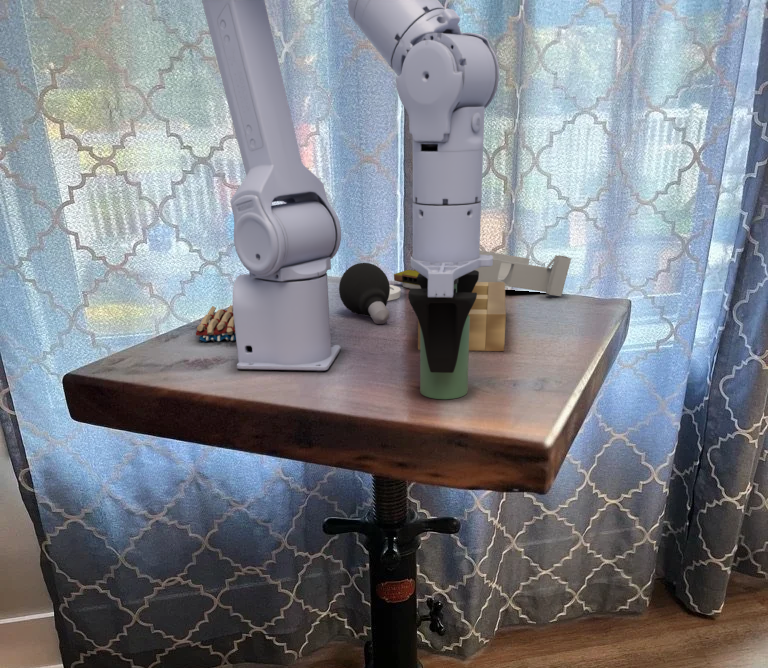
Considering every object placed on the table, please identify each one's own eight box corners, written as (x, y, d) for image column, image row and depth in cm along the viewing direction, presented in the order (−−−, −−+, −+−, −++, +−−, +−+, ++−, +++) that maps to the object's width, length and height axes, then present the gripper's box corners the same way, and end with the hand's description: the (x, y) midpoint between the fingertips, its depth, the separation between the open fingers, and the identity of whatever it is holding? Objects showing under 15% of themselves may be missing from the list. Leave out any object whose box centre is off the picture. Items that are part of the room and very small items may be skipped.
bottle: (418, 398, 71) (418, 280, 66) (422, 383, 75) (422, 271, 70) (466, 400, 70) (470, 281, 66) (468, 384, 74) (471, 271, 70)
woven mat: (191, 326, 88) (194, 344, 89) (285, 323, 88) (287, 340, 89) (206, 305, 97) (209, 321, 98) (292, 302, 98) (293, 318, 99)
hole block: (417, 349, 85) (417, 313, 83) (429, 313, 100) (429, 281, 98) (504, 351, 84) (505, 314, 82) (503, 314, 99) (504, 282, 97)
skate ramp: (521, 279, 118) (530, 244, 116) (561, 296, 106) (571, 258, 104) (429, 265, 113) (436, 228, 111) (460, 281, 102) (468, 241, 100)
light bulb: (368, 294, 91) (340, 249, 97) (352, 340, 95) (326, 295, 101) (415, 299, 94) (385, 256, 100) (398, 343, 98) (370, 299, 104)
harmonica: (408, 267, 116) (409, 281, 117) (393, 272, 115) (394, 286, 116) (480, 279, 106) (480, 294, 107) (464, 285, 105) (465, 299, 106)
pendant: (411, 290, 108) (411, 296, 109) (368, 278, 116) (368, 283, 117) (368, 298, 105) (368, 304, 105) (327, 285, 113) (327, 290, 113)
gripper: (495, 212, 58) (487, 387, 64) (495, 192, 71) (489, 340, 77) (400, 212, 59) (402, 385, 65) (418, 193, 72) (418, 339, 78)
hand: (444, 361), depth 71 cm, fingers open, 6 cm apart
